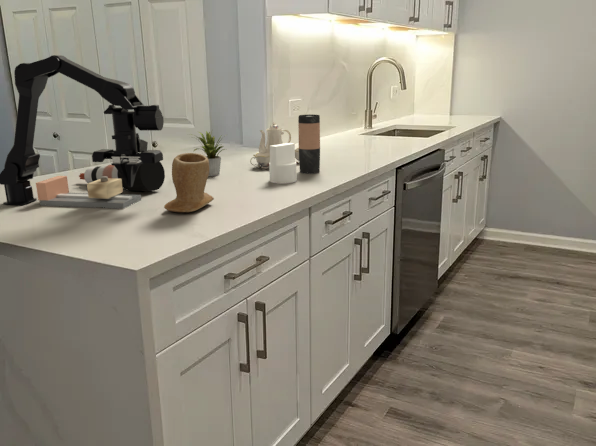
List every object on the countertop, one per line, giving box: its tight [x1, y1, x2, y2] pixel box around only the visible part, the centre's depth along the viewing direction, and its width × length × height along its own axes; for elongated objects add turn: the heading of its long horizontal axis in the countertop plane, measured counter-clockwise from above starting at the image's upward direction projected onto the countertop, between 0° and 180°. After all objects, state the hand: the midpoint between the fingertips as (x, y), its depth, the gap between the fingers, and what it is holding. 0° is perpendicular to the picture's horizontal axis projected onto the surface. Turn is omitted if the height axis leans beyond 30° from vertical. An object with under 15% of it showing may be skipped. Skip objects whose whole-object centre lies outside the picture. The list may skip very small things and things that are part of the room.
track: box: [35, 175, 142, 209], centre depth 155 cm, size 26×10×6 cm, turn 78°
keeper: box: [86, 176, 124, 199], centre depth 153 cm, size 6×8×5 cm
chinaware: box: [250, 121, 299, 170], centre depth 209 cm, size 28×17×17 cm, turn 131°
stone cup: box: [163, 152, 215, 213], centre depth 145 cm, size 15×12×15 cm
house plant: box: [188, 130, 227, 177], centre depth 191 cm, size 14×14×16 cm
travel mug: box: [297, 114, 321, 175], centre depth 192 cm, size 8×8×20 cm
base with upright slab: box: [268, 142, 298, 184], centre depth 179 cm, size 9×9×12 cm
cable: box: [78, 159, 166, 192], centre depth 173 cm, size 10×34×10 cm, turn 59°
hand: (130, 186), depth 152 cm, fingers closed
